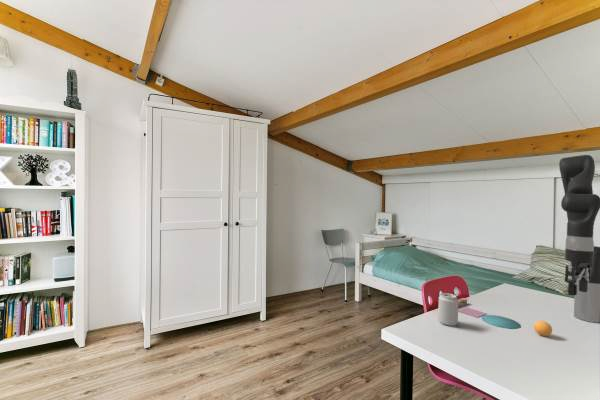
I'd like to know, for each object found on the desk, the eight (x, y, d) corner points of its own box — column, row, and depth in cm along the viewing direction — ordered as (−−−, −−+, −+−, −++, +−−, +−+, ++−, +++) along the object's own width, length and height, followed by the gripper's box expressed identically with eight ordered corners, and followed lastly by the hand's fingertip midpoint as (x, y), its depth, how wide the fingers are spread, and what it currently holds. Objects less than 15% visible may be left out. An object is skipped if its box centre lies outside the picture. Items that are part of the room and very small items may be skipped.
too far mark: (467, 307, 146) (467, 307, 146) (487, 314, 139) (487, 313, 139) (457, 311, 141) (457, 310, 141) (477, 317, 134) (477, 317, 134)
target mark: (490, 313, 140) (490, 312, 140) (526, 324, 128) (526, 323, 128) (475, 319, 132) (475, 318, 132) (511, 331, 121) (511, 331, 121)
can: (453, 320, 131) (454, 292, 131) (460, 327, 123) (461, 298, 123) (435, 319, 131) (436, 291, 131) (441, 326, 124) (442, 297, 124)
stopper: (462, 302, 154) (463, 297, 154) (466, 303, 152) (467, 299, 152) (440, 309, 143) (440, 304, 143) (444, 311, 141) (444, 305, 141)
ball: (537, 331, 122) (537, 317, 122) (554, 336, 117) (554, 322, 117) (531, 334, 119) (532, 320, 118) (549, 339, 114) (549, 325, 114)
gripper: (575, 246, 116) (573, 288, 116) (557, 248, 109) (555, 292, 109) (601, 249, 109) (599, 293, 109) (583, 251, 102) (582, 298, 103)
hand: (577, 293), depth 109 cm, fingers open, 8 cm apart
